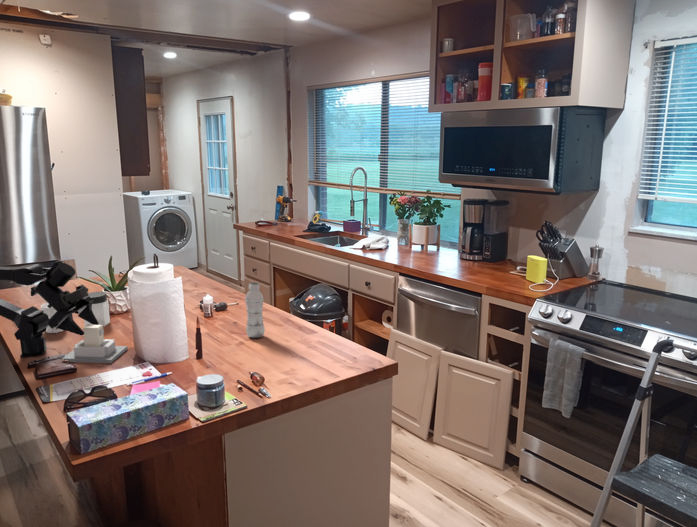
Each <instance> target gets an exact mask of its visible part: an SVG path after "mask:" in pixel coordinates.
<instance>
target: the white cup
mask: <svg viewBox="0 0 697 527" xmlns="http://www.w3.org/2000/svg"><path fill="white" fill-rule="evenodd" d="M48 305H49V303H47V302H44V303H42V304H41V305H40V310H43V311H44V312H43V313H45V314H47V315H48V318H49V319H50V318H51V317H52V316H53V315H54V314H55V313H56V312H57V311H56V310H55V309H54V308H53V307H51V308H49V307H48ZM64 331H65V330H61V329H56V327H55V328H53V329H52V328H51V327H50V326H49V325H48V327H47V328H46V331H45V333H48V334H57V333H61V332H64Z"/></svg>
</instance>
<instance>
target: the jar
mask: <svg viewBox="0 0 697 527" xmlns="http://www.w3.org/2000/svg"><path fill="white" fill-rule="evenodd" d="M88 295H89V296H90V297H91V298H92V299H93V301H92V302H93V304H92V311H93V314H94V315H95V317H96V319H97V321H98V323H99V324H98V325H103V328H104V327H106V326H108V325H109V324H110V323H111V318H110V307H109V299H108V296H107V295H108V294H107V292H105V291H92V292H88ZM92 302H91V303H92ZM83 321H84V322H83V323H84V327H85V326H86V325H88V324H89V325H93V324H91V323H89V322H88V321H86V320H84V319H83Z"/></svg>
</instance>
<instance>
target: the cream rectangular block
mask: <svg viewBox="0 0 697 527" xmlns="http://www.w3.org/2000/svg"><path fill="white" fill-rule="evenodd" d="M82 330H83V332H84V335H83V340H84V344H85V346H96V347H103V346H104V345H105V342H104V339H105V338H104V337H105V336H104V334H105V330H104V327H103V325H89V324H88V325H86V326H85V325H84V326H83V327H82Z"/></svg>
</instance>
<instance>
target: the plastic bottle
mask: <svg viewBox="0 0 697 527" xmlns="http://www.w3.org/2000/svg"><path fill="white" fill-rule="evenodd" d="M260 289H261V287H260V283H259V282H250V283H248V292H246V295H245V297H244V301H245V305H246V306H245V307H246V316H247V317H246V318H247V319H246V328H245V331H246V335H247V336H248V337H249V338H251V339H252V338H253V339H259V338H262V337H263V336H264V335H265V330H266V329H265V325H264V316H263V310H264V309H263V306H264V295H263V294H262V292H261V291H260Z"/></svg>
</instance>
